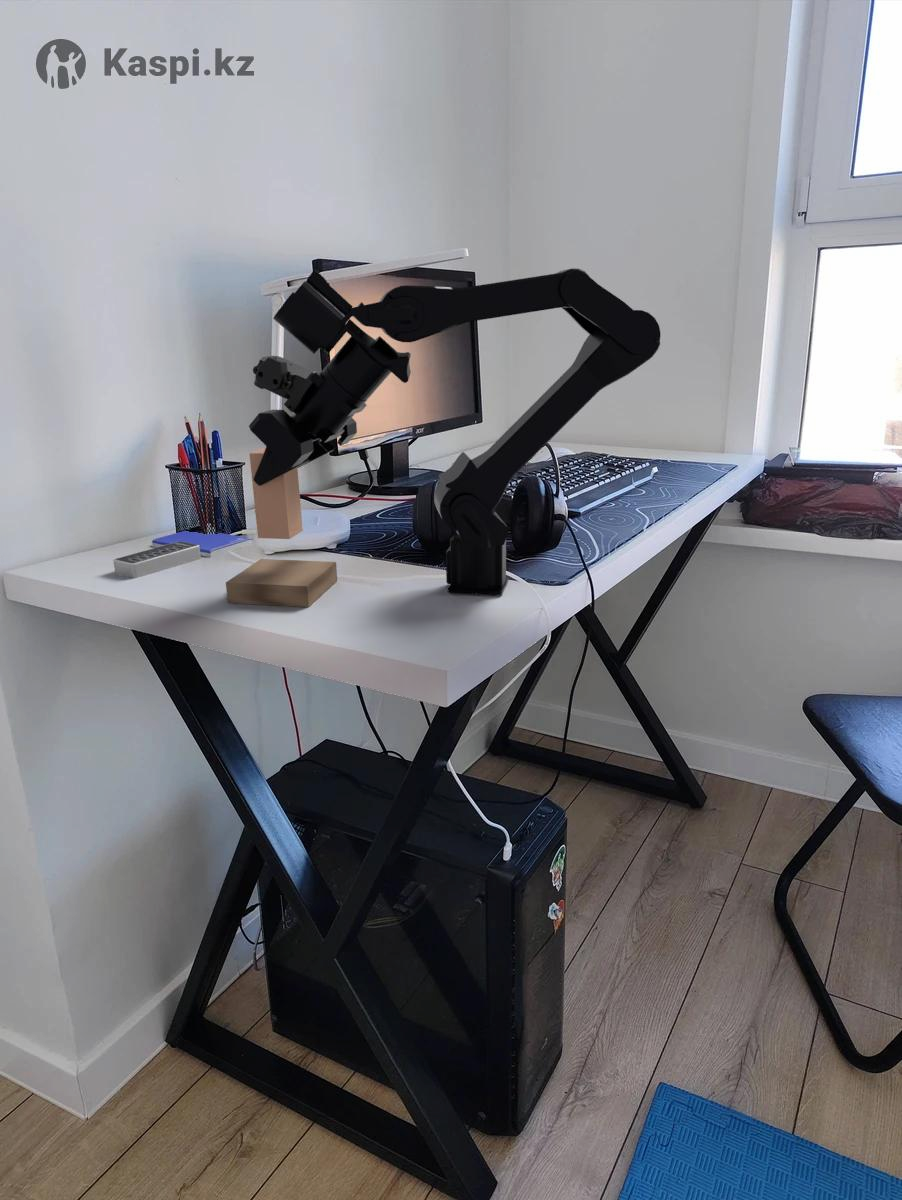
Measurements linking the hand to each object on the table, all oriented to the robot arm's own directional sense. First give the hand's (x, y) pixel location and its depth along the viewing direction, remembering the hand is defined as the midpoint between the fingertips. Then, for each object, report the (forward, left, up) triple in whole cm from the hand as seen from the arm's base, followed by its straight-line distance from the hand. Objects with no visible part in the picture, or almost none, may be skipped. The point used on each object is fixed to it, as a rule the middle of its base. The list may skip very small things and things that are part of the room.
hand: (264, 479), depth 101 cm
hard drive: (+19, -18, -14) cm, 30 cm away
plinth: (-2, +1, -13) cm, 14 cm away
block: (-1, 0, -7) cm, 7 cm away
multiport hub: (+20, -7, -14) cm, 25 cm away
